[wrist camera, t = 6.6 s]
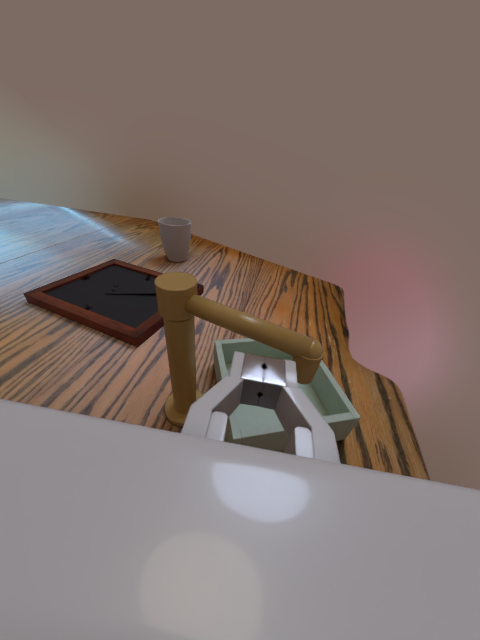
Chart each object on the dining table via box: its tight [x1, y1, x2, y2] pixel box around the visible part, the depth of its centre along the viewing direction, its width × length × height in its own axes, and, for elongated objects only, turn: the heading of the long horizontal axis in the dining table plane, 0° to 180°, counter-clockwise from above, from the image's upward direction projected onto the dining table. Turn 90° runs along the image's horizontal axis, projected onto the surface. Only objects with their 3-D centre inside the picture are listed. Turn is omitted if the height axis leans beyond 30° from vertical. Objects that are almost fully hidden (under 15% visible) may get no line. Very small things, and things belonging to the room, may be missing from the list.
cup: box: [158, 217, 191, 262], centre depth 61 cm, size 8×8×10 cm
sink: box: [214, 334, 361, 452], centre depth 29 cm, size 14×14×5 cm
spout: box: [154, 272, 323, 384], centre depth 17 cm, size 14×3×4 cm, turn 62°
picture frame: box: [24, 259, 203, 347], centre depth 45 cm, size 20×2×25 cm
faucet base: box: [163, 316, 203, 427], centre depth 24 cm, size 5×5×14 cm
